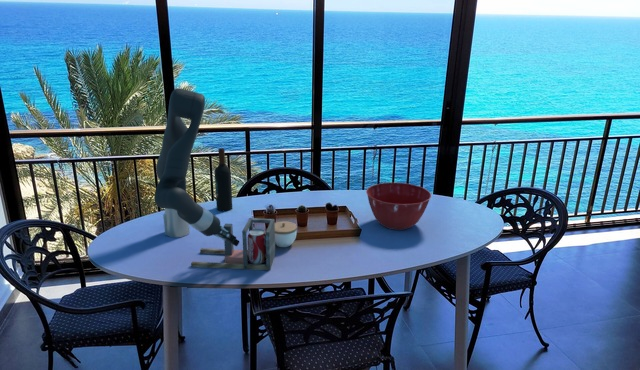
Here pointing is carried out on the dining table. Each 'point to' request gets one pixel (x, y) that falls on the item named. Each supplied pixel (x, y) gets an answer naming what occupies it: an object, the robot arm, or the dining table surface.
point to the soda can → (257, 246)
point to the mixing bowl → (398, 204)
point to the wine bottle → (223, 184)
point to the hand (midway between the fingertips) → (232, 241)
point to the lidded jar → (285, 233)
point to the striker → (232, 250)
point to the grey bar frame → (245, 249)
